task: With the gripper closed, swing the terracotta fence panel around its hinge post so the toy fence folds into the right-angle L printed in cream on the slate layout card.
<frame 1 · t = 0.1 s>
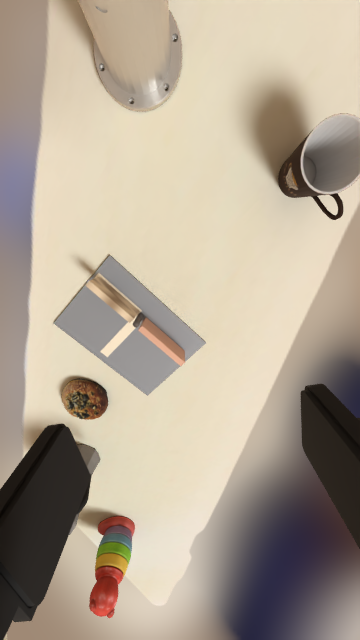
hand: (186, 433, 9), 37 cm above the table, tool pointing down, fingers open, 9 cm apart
folding fence panel: (163, 341, 45), point 3 cm above the table, hinge at 0.0°
coffee mug: (295, 186, 39), on the table
stacking bear: (119, 524, 70), on the table
layout card: (130, 332, 48), on the table
fixed fence section: (118, 295, 45), resting on layout card
bread roll: (86, 396, 54), on the table
coffeepot: (86, 454, 60), on the table
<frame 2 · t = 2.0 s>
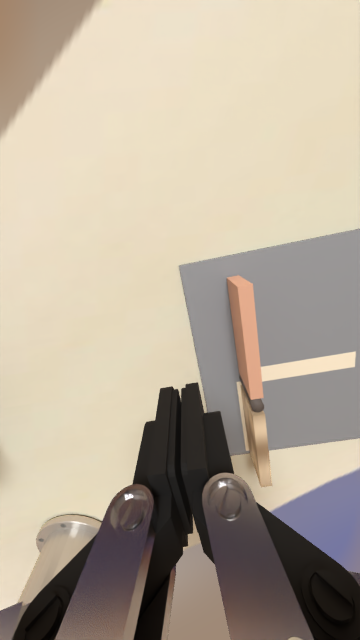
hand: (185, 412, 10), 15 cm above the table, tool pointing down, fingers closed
folding fence panel: (244, 336, 22), point 3 cm above the table, hinge at 0.0°
layout card: (281, 362, 26), on the table
fixed fence section: (248, 415, 29), resting on layout card
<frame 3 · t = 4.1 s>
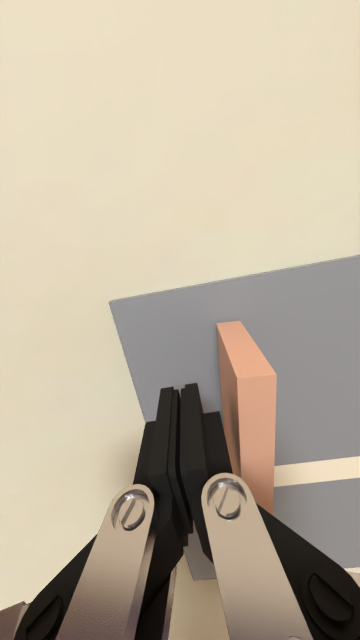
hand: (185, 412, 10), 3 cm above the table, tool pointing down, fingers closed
folding fence panel: (242, 444, 11), point 3 cm above the table, hinge at -3.8°, touching gripper
layout card: (299, 458, 15), on the table
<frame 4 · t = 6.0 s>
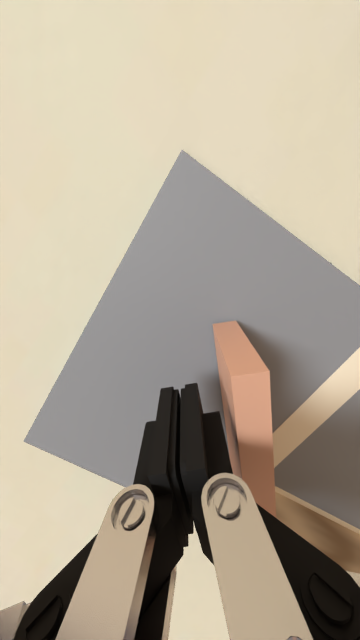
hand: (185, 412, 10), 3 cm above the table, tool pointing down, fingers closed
folding fence panel: (243, 443, 11), point 3 cm above the table, hinge at -47.7°, touching gripper
layout card: (271, 429, 15), on the table
fixed fence section: (303, 509, 17), resting on layout card
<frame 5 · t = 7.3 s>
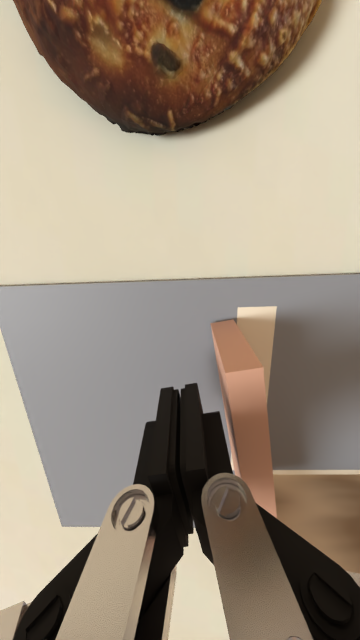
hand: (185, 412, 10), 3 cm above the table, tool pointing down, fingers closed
folding fence panel: (244, 440, 11), point 3 cm above the table, hinge at -81.2°, touching gripper
layout card: (231, 425, 15), on the table
fixed fence section: (330, 476, 16), resting on layout card
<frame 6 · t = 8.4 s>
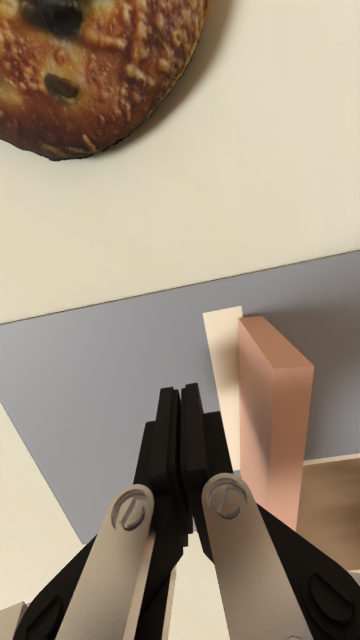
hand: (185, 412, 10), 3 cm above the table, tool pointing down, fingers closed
folding fence panel: (263, 439, 11), point 3 cm above the table, hinge at -96.2°
layout card: (223, 427, 15), on the table
fixed fence section: (335, 462, 15), resting on layout card
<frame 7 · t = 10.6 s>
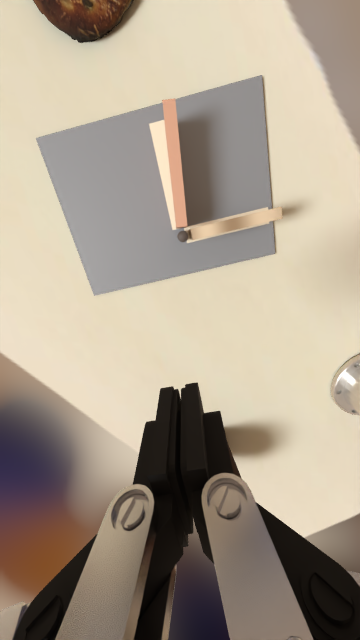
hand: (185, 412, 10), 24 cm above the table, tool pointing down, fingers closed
folding fence panel: (175, 174, 25), point 3 cm above the table, hinge at -96.3°
layout card: (166, 201, 29), on the table
fixed fence section: (226, 225, 30), resting on layout card
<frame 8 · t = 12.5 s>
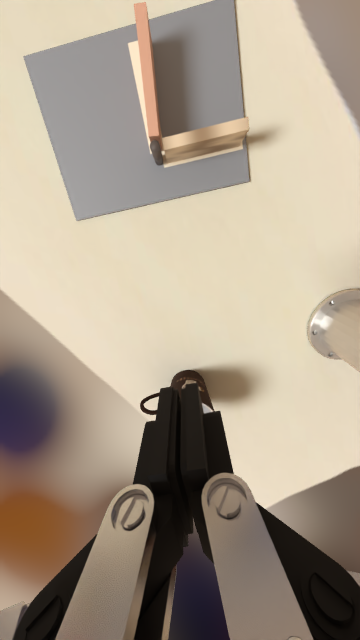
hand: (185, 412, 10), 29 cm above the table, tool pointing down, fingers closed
folding fence panel: (150, 88, 27), point 3 cm above the table, hinge at -96.3°
coffee mug: (181, 380, 44), on the table
layout card: (144, 124, 30), on the table
fixed fence section: (201, 151, 31), resting on layout card
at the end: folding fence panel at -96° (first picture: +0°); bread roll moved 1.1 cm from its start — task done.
